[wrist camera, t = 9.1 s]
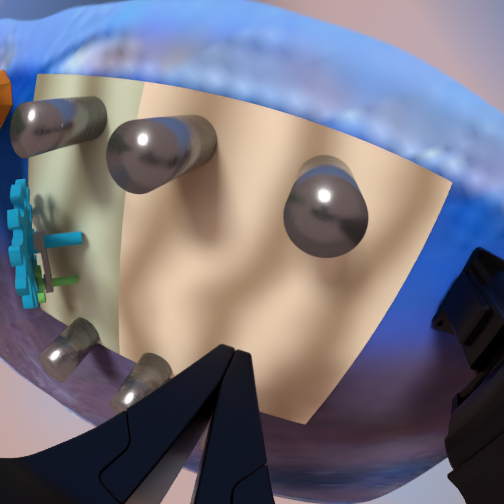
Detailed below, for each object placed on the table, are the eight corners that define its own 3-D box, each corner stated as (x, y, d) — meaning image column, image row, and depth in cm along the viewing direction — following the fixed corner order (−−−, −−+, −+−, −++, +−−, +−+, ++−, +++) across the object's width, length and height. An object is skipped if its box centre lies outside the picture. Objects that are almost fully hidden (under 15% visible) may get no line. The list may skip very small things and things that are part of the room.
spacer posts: (362, 167, 16) (381, 195, 10) (249, 412, 27) (233, 464, 21) (77, 94, 17) (12, 101, 12) (76, 334, 28) (43, 370, 23)
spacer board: (450, 181, 15) (452, 182, 15) (305, 421, 26) (305, 424, 26) (41, 73, 17) (37, 74, 17) (43, 307, 28) (41, 308, 28)
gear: (13, 158, 18) (-9, 233, 12) (78, 152, 22) (84, 222, 16) (27, 260, 25) (29, 345, 19) (80, 254, 28) (95, 335, 22)
